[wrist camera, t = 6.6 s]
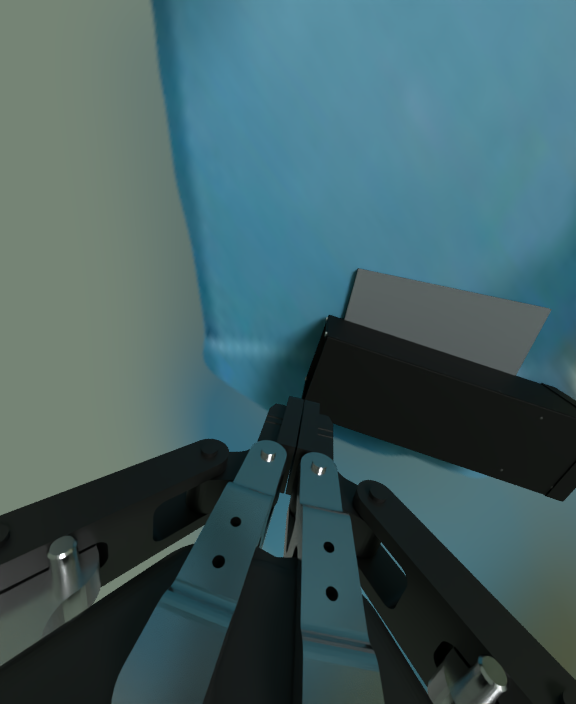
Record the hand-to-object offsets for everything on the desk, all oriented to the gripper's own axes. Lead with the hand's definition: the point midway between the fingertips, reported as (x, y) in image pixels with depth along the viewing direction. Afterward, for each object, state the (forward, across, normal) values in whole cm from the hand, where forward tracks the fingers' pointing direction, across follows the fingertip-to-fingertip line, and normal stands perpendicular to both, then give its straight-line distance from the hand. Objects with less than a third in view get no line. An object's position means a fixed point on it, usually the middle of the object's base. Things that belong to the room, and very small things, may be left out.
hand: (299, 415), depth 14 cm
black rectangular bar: (+15, 0, +3) cm, 15 cm away
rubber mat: (+19, -12, 0) cm, 22 cm away
